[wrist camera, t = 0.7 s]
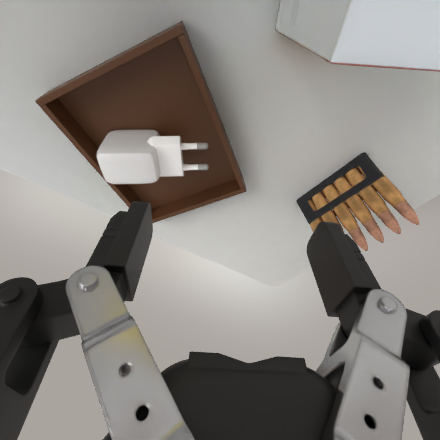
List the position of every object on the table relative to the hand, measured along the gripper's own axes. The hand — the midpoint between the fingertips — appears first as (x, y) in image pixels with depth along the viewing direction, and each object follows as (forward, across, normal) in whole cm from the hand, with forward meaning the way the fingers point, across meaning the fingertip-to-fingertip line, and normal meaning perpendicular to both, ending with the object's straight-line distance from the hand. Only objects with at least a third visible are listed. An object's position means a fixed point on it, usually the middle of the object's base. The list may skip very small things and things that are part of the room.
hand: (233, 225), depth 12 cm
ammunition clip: (+21, -16, +9) cm, 28 cm away
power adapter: (+19, +7, +5) cm, 21 cm away
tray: (+19, +7, +5) cm, 21 cm away
